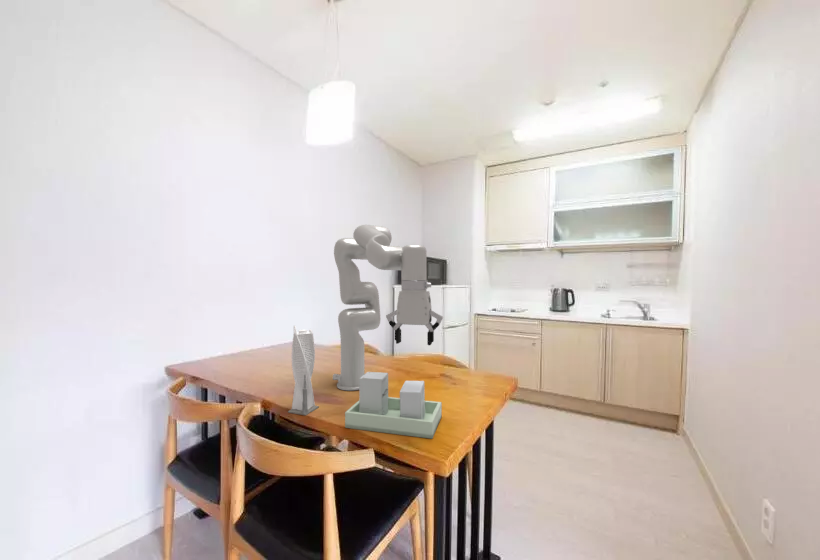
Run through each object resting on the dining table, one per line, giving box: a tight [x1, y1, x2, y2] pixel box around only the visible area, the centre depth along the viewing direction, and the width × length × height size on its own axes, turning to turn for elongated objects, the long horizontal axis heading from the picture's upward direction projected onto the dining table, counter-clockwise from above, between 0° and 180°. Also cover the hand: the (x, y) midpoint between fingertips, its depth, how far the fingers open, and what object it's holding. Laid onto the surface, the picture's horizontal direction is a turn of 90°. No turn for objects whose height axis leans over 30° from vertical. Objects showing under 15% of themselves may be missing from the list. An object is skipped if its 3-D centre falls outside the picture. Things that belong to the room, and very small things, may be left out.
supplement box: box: [358, 371, 389, 415], centre depth 102 cm, size 7×7×13 cm
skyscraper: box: [287, 325, 320, 416], centre depth 110 cm, size 8×8×28 cm
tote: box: [344, 396, 443, 440], centre depth 99 cm, size 26×15×4 cm, turn 75°
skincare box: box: [399, 380, 426, 420], centre depth 98 cm, size 10×6×10 cm, turn 171°
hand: (414, 343), depth 98 cm, fingers open, 9 cm apart
